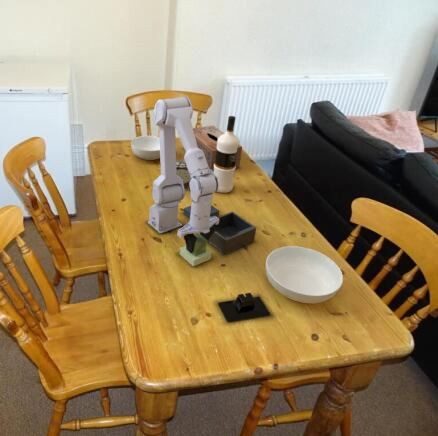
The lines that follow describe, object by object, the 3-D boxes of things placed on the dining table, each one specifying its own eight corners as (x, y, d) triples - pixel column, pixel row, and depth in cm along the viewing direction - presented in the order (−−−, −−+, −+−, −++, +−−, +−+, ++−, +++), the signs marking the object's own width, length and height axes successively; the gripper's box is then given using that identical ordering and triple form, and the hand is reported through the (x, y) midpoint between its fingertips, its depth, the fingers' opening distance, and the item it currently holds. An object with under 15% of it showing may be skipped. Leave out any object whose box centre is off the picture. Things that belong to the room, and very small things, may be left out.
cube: (194, 256, 125) (196, 245, 123) (185, 248, 128) (186, 237, 126) (206, 251, 127) (207, 240, 125) (196, 244, 130) (198, 232, 128)
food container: (192, 182, 169) (195, 160, 163) (192, 190, 164) (195, 167, 158) (162, 180, 170) (164, 158, 164) (161, 187, 165) (163, 165, 159)
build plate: (258, 297, 115) (262, 285, 113) (271, 316, 109) (274, 304, 107) (217, 303, 112) (219, 291, 110) (227, 323, 107) (230, 311, 104)
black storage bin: (223, 255, 130) (226, 240, 127) (200, 236, 138) (202, 222, 135) (253, 241, 137) (256, 227, 133) (229, 225, 144) (232, 211, 141)
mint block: (193, 266, 125) (194, 260, 124) (179, 254, 130) (180, 248, 128) (210, 259, 128) (211, 252, 127) (196, 247, 133) (197, 241, 132)
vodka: (213, 180, 171) (222, 110, 154) (235, 185, 168) (247, 114, 152) (207, 190, 164) (216, 118, 147) (230, 196, 161) (242, 122, 144)
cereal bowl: (147, 168, 178) (148, 153, 175) (123, 155, 188) (123, 141, 185) (175, 157, 188) (176, 143, 184) (150, 146, 198) (151, 132, 194)
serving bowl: (247, 271, 124) (251, 253, 120) (304, 257, 130) (310, 240, 126) (290, 321, 108) (296, 302, 104) (352, 302, 114) (360, 284, 110)
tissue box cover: (238, 167, 182) (242, 146, 176) (209, 172, 177) (212, 151, 172) (211, 145, 202) (213, 125, 196) (184, 148, 197) (186, 128, 191)
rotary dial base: (197, 224, 144) (197, 218, 142) (180, 211, 150) (181, 205, 149) (218, 216, 149) (219, 210, 147) (201, 204, 155) (202, 198, 154)
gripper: (189, 226, 114) (185, 263, 121) (228, 211, 120) (222, 247, 128) (174, 214, 118) (171, 251, 126) (212, 200, 125) (207, 236, 133)
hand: (196, 248), depth 127 cm, fingers closed on cube, 4 cm apart
